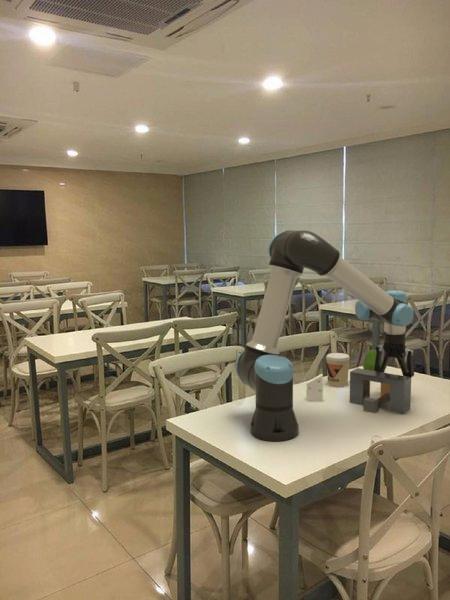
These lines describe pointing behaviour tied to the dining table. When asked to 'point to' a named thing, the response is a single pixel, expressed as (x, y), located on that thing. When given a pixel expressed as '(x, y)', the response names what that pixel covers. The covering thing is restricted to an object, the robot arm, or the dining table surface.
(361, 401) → the housing
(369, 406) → the plug
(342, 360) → the coffee cup
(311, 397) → the white angled block
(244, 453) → the dining table surface
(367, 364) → the avocado
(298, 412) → the dining table surface
